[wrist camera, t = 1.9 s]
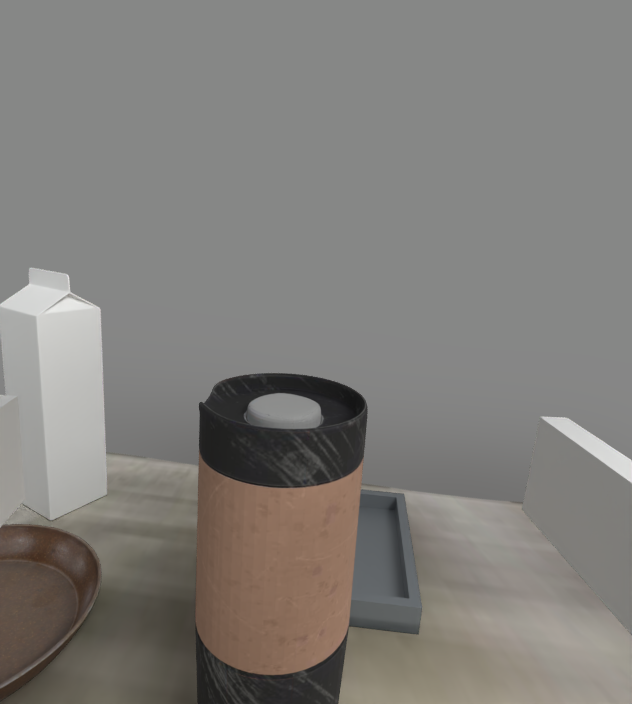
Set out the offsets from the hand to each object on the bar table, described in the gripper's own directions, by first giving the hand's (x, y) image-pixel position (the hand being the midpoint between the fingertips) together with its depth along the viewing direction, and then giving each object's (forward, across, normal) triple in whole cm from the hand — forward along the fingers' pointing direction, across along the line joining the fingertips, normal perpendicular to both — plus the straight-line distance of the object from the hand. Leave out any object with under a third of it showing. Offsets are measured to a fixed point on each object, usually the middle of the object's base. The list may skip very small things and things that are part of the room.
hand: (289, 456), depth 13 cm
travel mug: (+10, 0, -22) cm, 24 cm away
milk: (+35, -20, -22) cm, 46 cm away
